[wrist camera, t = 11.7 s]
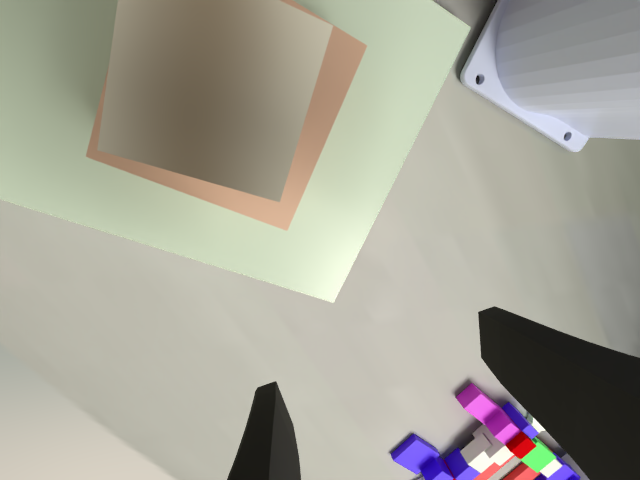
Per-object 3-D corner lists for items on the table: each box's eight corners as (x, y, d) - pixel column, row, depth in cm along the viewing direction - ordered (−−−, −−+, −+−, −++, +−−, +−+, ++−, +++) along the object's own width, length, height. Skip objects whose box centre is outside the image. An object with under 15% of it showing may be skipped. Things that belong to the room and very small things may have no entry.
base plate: (458, 32, 17) (470, 27, 16) (329, 294, 20) (333, 302, 20) (62, -241, 11) (45, -273, 10) (-15, 185, 15) (-32, 189, 14)
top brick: (302, 62, 12) (333, 25, 8) (270, 174, 13) (280, 202, 9) (180, 10, 11) (127, -71, 6) (156, 139, 12) (96, 149, 8)
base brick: (346, 59, 15) (367, 45, 12) (281, 213, 17) (287, 230, 14) (170, -43, 13) (147, -88, 10) (117, 150, 15) (85, 156, 12)
